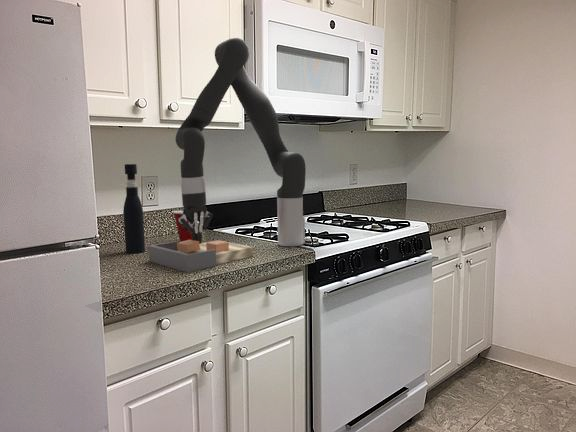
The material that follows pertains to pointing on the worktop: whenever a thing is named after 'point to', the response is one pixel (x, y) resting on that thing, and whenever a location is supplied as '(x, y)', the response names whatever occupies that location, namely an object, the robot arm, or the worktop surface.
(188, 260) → the box
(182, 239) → the plastic cup
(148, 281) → the worktop surface
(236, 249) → the birch board
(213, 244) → the terracotta tile
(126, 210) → the wine bottle
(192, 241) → the terracotta tile
